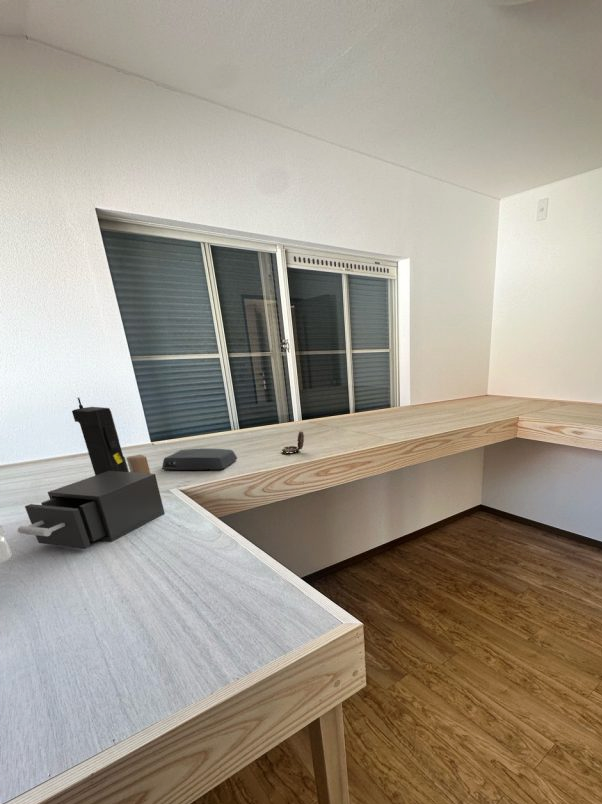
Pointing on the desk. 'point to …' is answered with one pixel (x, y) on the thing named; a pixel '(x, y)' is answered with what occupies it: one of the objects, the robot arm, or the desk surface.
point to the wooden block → (138, 464)
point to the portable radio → (100, 439)
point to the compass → (294, 448)
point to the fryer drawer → (65, 522)
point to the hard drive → (199, 459)
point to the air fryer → (119, 499)
